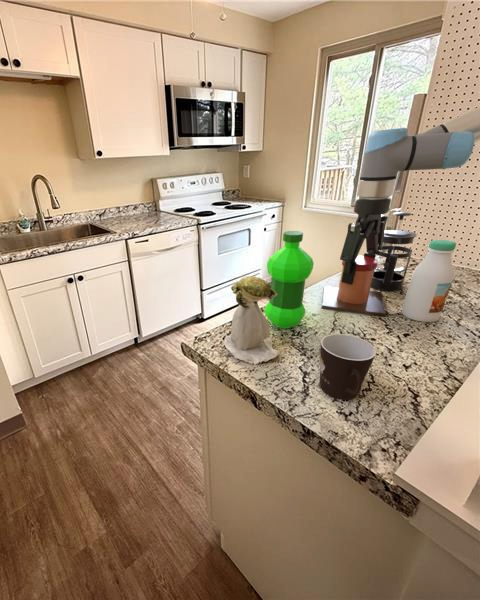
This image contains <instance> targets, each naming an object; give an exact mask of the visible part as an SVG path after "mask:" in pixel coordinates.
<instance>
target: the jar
mask: <svg viewBox="0 0 480 600" xmlns="http://www.w3.org/2000/svg"><path fill="white" fill-rule="evenodd" d="M343 270H344V266H343V265H342V268H341V274H340V278H339V284H338V288H339V289H338V294H337V298H338V299H339V300H341V301H343V302H346V303H351V304H363V303H366V302H367V301H368V296H369V292H370V291H371V289H372V288H371V284H372V279H373V275H374V271H376V270H375V269H373V270H366V271H362V270H355V274H354V279H353V284H351V285H350V284H346V283H343V282H341V280H342V275H343Z"/></svg>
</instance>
